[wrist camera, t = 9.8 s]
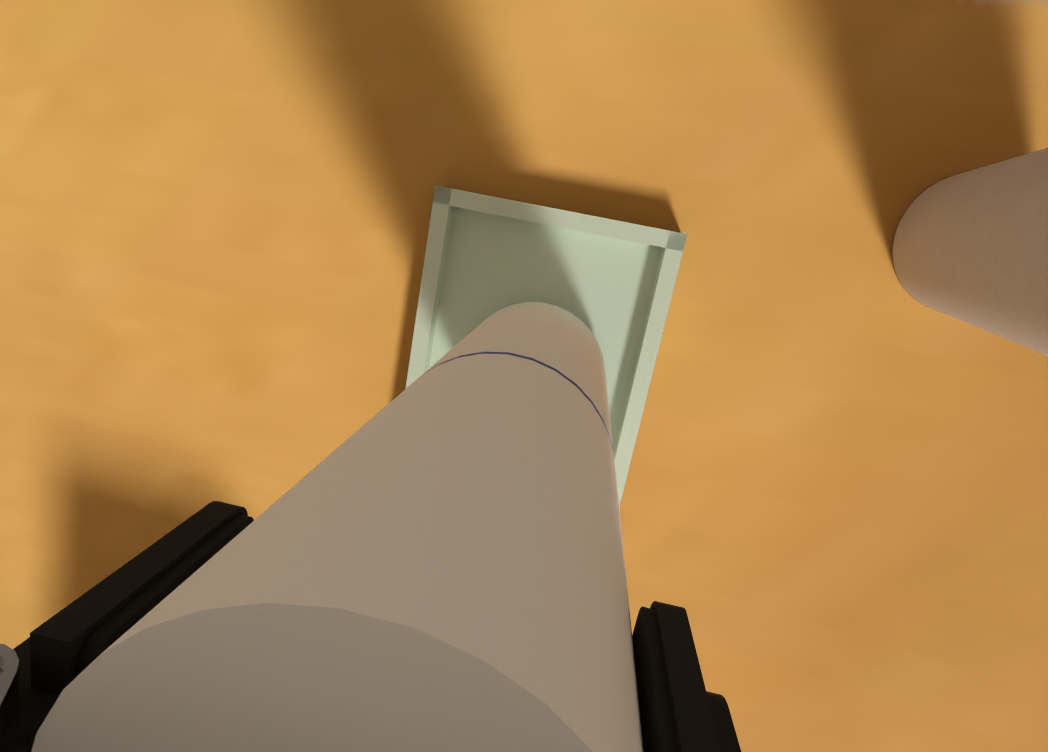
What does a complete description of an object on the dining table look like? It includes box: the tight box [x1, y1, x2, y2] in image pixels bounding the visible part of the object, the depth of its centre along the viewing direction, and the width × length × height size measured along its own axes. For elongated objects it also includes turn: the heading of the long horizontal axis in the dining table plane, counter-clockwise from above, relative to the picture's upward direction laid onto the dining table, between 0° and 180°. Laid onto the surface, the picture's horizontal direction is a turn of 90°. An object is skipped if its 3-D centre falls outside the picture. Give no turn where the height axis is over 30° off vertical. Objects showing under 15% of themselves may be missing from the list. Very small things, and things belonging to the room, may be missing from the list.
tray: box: [406, 185, 687, 506], centre depth 32 cm, size 12×16×2 cm
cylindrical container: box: [31, 302, 644, 752], centre depth 19 cm, size 7×7×25 cm
